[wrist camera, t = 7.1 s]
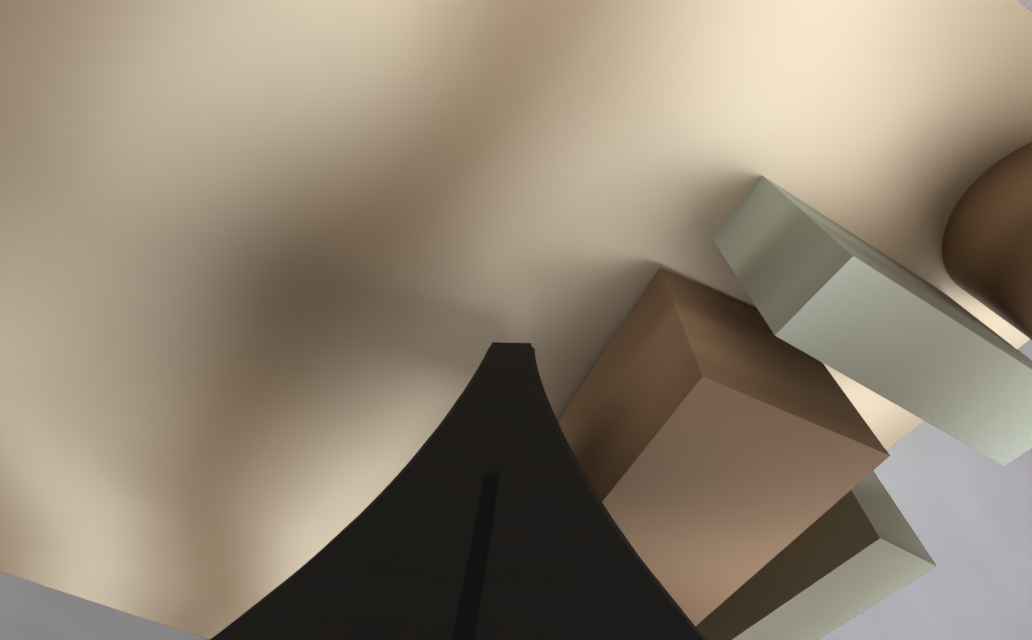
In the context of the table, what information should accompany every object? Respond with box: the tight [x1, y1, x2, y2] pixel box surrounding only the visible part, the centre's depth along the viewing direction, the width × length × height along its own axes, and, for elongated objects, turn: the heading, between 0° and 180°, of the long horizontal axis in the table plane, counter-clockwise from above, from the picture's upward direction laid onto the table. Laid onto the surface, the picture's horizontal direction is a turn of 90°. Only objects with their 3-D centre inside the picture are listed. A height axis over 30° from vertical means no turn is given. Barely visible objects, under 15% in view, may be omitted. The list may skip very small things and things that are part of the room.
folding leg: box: [558, 267, 890, 626], centre depth 11 cm, size 12×3×3 cm, turn 156°
